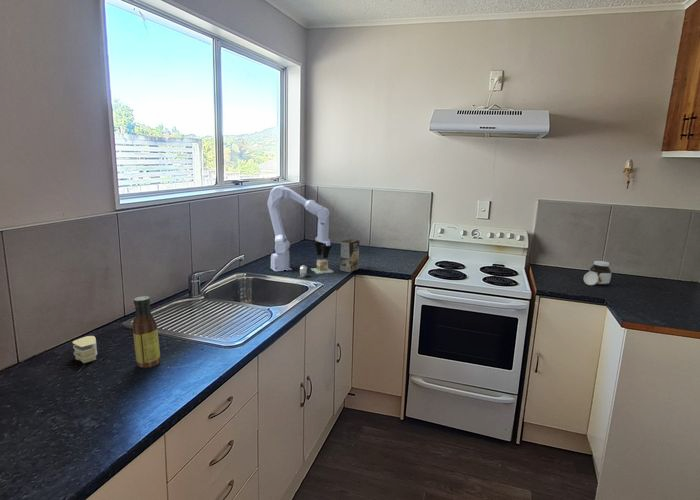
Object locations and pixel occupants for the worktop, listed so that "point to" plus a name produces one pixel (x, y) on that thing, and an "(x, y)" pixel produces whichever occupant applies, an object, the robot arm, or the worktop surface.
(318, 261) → the maple block
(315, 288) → the worktop surface
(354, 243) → the coffee box
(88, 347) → the cream layered block
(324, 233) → the robot arm
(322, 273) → the sage tile
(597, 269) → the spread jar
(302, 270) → the clear glass cylinder
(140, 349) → the sauce bottle
